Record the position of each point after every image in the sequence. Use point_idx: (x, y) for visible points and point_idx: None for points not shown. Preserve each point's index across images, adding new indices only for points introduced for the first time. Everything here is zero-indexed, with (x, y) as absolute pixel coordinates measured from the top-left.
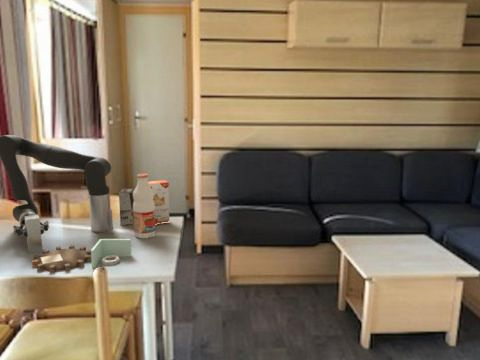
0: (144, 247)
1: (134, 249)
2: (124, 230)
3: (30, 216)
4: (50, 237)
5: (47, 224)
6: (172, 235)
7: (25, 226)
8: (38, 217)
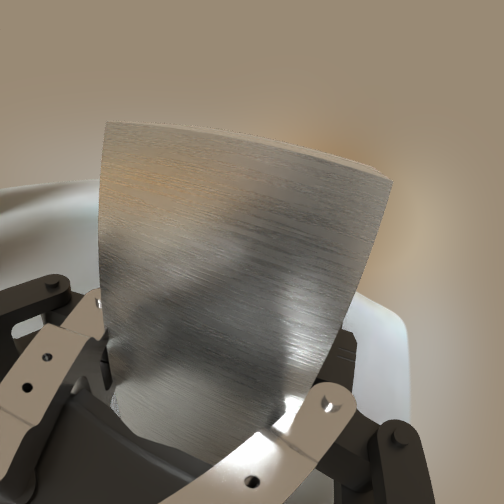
0: (50, 200)
1: (64, 205)
2: None
3: (264, 142)
4: None
5: (23, 286)
6: None
7: (303, 400)
8: (211, 128)
